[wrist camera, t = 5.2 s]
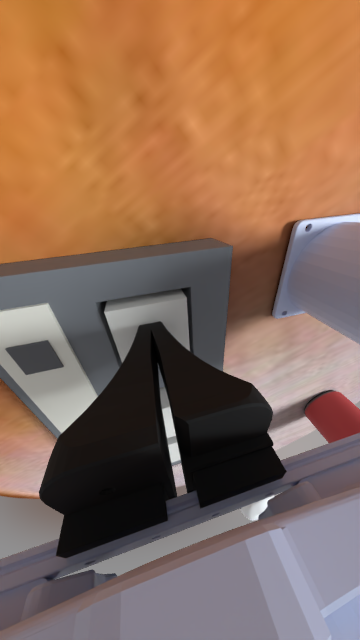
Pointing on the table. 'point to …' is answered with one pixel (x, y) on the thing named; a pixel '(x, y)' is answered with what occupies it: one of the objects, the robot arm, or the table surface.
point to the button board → (99, 318)
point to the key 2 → (173, 449)
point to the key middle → (167, 413)
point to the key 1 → (147, 317)
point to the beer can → (333, 416)
